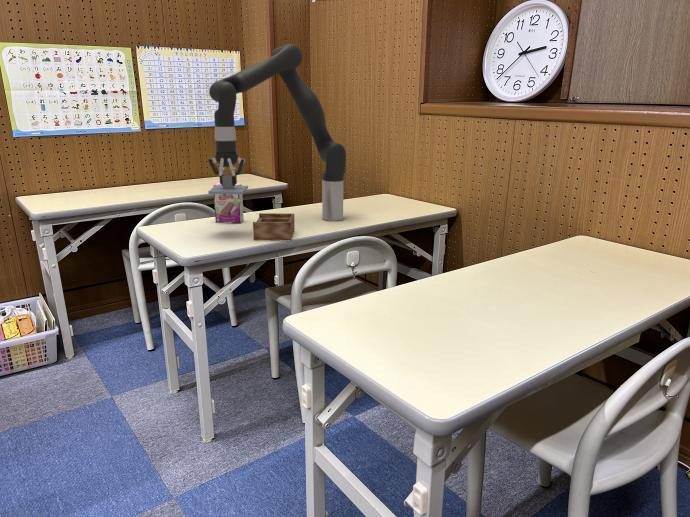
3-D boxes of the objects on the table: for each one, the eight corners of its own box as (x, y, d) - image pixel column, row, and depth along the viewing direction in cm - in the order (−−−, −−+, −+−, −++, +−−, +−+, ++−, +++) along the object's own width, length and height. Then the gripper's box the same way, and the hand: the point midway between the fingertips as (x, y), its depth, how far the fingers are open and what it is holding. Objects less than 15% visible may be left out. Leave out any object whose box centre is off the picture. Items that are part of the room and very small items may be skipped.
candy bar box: (215, 223, 213) (212, 184, 207) (219, 220, 217) (216, 182, 212) (240, 224, 212) (238, 185, 206) (244, 221, 216) (242, 183, 211)
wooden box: (294, 230, 203) (294, 213, 200) (290, 240, 188) (290, 222, 186) (260, 230, 203) (259, 213, 200) (253, 240, 188) (252, 222, 186)
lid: (248, 188, 196) (247, 172, 194) (242, 194, 184) (241, 178, 182) (216, 187, 196) (215, 172, 194) (208, 193, 184) (207, 177, 182)
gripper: (246, 138, 188) (249, 184, 193) (209, 137, 187) (212, 183, 193) (242, 140, 180) (245, 187, 186) (203, 139, 180) (207, 187, 186)
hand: (228, 185), depth 189 cm, fingers closed on lid, 3 cm apart
